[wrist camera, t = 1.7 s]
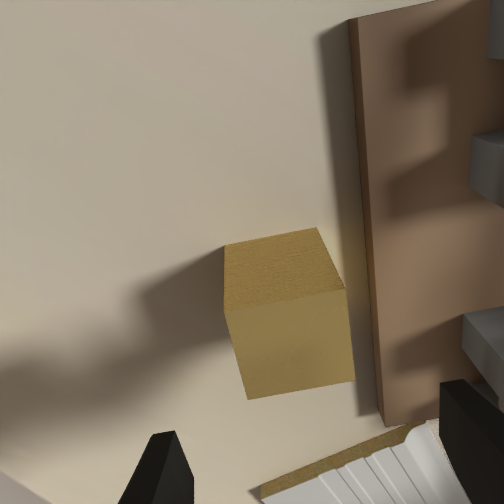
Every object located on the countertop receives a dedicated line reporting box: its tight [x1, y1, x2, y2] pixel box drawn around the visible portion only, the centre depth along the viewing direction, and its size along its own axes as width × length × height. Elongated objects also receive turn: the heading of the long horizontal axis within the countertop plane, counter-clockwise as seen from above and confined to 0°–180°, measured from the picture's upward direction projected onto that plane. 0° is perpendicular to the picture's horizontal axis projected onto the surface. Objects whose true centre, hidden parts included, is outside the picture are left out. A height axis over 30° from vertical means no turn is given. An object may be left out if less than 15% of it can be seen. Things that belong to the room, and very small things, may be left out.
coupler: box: [224, 227, 355, 400], centre depth 17 cm, size 4×4×5 cm
